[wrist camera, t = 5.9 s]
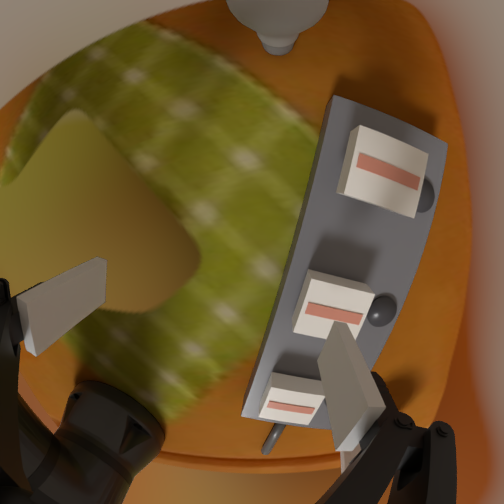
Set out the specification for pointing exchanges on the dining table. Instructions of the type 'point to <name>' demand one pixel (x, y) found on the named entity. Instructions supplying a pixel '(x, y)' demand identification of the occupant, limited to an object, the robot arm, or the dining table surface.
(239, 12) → the lightbulb
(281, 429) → the power strip
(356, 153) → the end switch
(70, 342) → the dining table surface
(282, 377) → the cord end switch
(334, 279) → the middle switch
